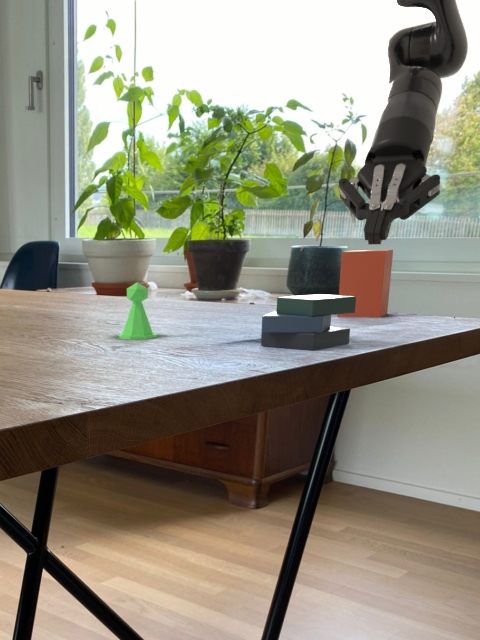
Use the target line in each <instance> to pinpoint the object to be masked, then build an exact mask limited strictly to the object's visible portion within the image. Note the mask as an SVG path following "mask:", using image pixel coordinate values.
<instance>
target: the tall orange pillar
mask: <svg viewBox="0 0 480 640" xmlns="http://www.w3.org/2000/svg"><path fill="white" fill-rule="evenodd" d="M393 256H394V249H363V250H362V249H360V250H359V249H358V250H357V249H356V250H343V251H341V261H340V262H341V263H340V275H339V287H338V288H339V289H338V295H340V296H356V307H355V313H348V314H336V316H337V318H382V317H384V316H386V315H387V314H388V310H389V298H390V288H391V278H392V267H393Z"/></svg>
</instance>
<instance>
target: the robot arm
mask: <svg viewBox="0 0 480 640" xmlns="http://www.w3.org/2000/svg"><path fill="white" fill-rule="evenodd" d="M394 2H395V4H396V6H397V7H399V8H400V9H401V8H402V9H422V10H427V12H429V13H430V14H431V15H432V17H433V19H434V20H435V21H432V22H428V23H427V22H426V23H423V24H417V25H413V26H410V27H405V28H402V29H400V30H398V31H397V32H395V33H394V34H393V35H392V36H391V37H390V39H389V40H388V42H387V43H386V46H385V49H384V68H385V73H386V83H387V85H386V92H385V93H386V94H385V97H384V101H383V103H382V107H381V111H380V113H379V114H378V116H377V119H376V122H375V124H374V128H373V131H372V134H371V137H370V138H371V139H370V142H369V146H368V149H367V151H366V152H367V153H366V156H365V160H364V163H363V165H362V166H361V168H360V169H359V170H358V171H357V173H356V176H355V177H353V178H351V179H348V178H346V177H343V178H340V179H339V180H338V191H339V198H340V200H341V201H342V202H343V203H344V205H345V206H346V207H347V208H348V210H349V211H350V212H351V214H352V215H353V216H354V217H355V218H356V219H357V221H364V220H365V223H364V227H363V235H364V236H363V237H364V240H365V241H367V243H368V245H382V241H386V240H387V239H388V238H389V235H390V230H391V227H392V224H393V222H394V221H395V220H397V219H399V220H402V221H405V220H408V219H409V218H410V217H412V216H413V215H414V214H416V213H417V212H419V210H421V209H423V208H424V207H425V206H426V205H428V204H429V203H431V202H432V201H433V200H434V199H436V198H437V197H438V196H440V194H441V175H439V174H432V175H429V174H427V172H428V169H427V166H426V165H427V161H428V158H429V154H430V149H431V146H432V143H433V140H434V137H435V135H434V134H435V128H436V121H437V119H436V118H437V113H438V109H439V105H440V102H441V98H442V94H443V83H442V79H446V78H449V77H452V76H454V75H456V74H457V73H459V71H460V70H461V69H462V67H463V65H464V64H465V61H466V59H467V57H468V48H469V47H468V43H469V42H468V38H467V37H468V36H467V33H466V29H465V27H464V26H465V25H464V23H463V20H462V16H461V15H460V11H459V7H458V5H457V1H456V0H394ZM359 188H360V189H361V191H362V192H363V193H364V194H365V196H366V197H367V199H369V203H368V202H366V199H365V198H364V197H363V196H362V195H361V194H360V193H359Z"/></svg>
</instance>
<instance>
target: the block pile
mask: <svg viewBox="0 0 480 640" xmlns="http://www.w3.org/2000/svg"><path fill="white" fill-rule="evenodd" d="M355 307H356V296H340V295H339V294H323V293H316V294H302V295H301V294H300V295H289V296H277V297H276V310H273V311H272V312H271V311H270V312H269V313H267V314H265V315H262V316H261V333H260V334H261V337H260V346H261V347H268V348H269V347H270V348H282V349H292V350H303V351H318V350H323V349H328V348H333V347H334V348H335V347H340V346H345V345H349V344H350V338H351V337H350V335H351V328H350V327H338V326H331V324H332V316H335V315H336V316H337V314H348V313H355Z"/></svg>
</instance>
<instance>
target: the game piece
mask: <svg viewBox="0 0 480 640" xmlns="http://www.w3.org/2000/svg"><path fill="white" fill-rule="evenodd" d="M148 298H149V297H148V287H146V286H145V285H143V284H141V283H139V282H138V281H136V282H135V283H133V284H131V285H130V286H129V287H126V299H128V300H129V301H131V302H132V305H131V307H130V310H129V312H128V316H127V318H126V322H125V325H124V328H123V331H122V333H118V339H120V340H151V339H156V338H157V339H158V333H157V332H153V329H152V327H151V324H150V321H149V318H148V316H147V312H146V310H145V307H144V305H143V301H145V300H147V299H148Z"/></svg>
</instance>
